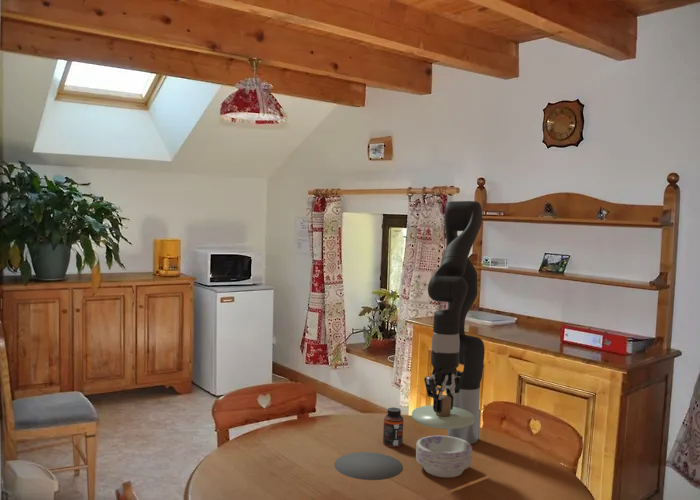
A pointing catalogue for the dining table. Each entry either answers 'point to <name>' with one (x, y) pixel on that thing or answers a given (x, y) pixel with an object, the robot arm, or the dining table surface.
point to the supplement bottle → (393, 428)
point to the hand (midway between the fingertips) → (443, 410)
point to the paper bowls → (444, 455)
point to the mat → (368, 466)
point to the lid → (443, 416)
